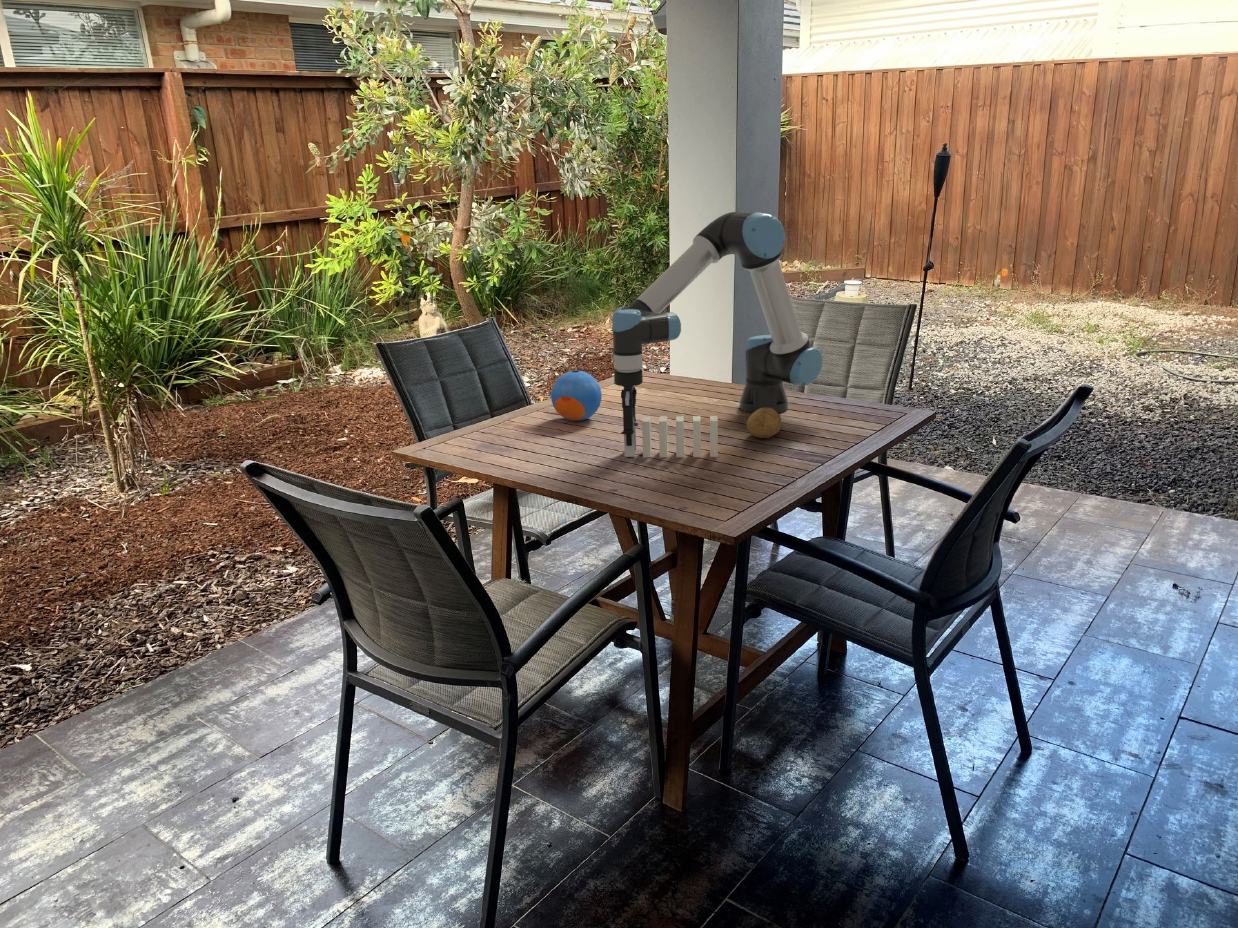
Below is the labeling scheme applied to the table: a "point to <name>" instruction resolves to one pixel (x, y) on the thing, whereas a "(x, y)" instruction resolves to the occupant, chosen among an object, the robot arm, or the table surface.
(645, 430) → the domino
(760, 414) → the potato
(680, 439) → the domino
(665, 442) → the domino
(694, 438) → the domino
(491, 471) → the table surface
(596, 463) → the table surface
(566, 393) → the treat dispenser ball
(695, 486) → the table surface
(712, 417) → the domino
